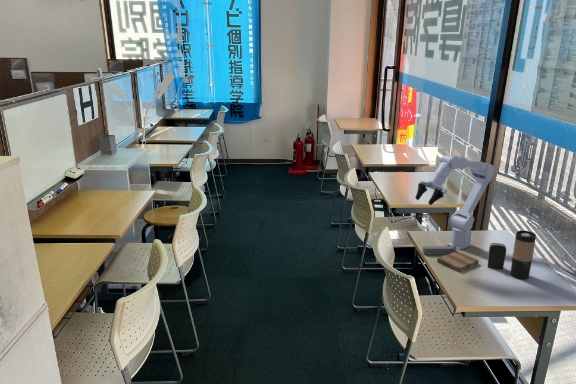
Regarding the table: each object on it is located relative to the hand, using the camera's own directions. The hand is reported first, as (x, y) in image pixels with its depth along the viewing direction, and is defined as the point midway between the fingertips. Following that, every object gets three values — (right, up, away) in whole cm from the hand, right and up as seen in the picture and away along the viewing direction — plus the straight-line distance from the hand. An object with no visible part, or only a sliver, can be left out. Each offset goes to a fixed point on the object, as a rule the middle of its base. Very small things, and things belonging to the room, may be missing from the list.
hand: (422, 201), depth 203 cm
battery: (+33, -30, 0) cm, 45 cm away
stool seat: (+17, -29, +5) cm, 34 cm away
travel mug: (+40, -33, -8) cm, 52 cm away
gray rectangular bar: (+11, -26, +14) cm, 31 cm away
